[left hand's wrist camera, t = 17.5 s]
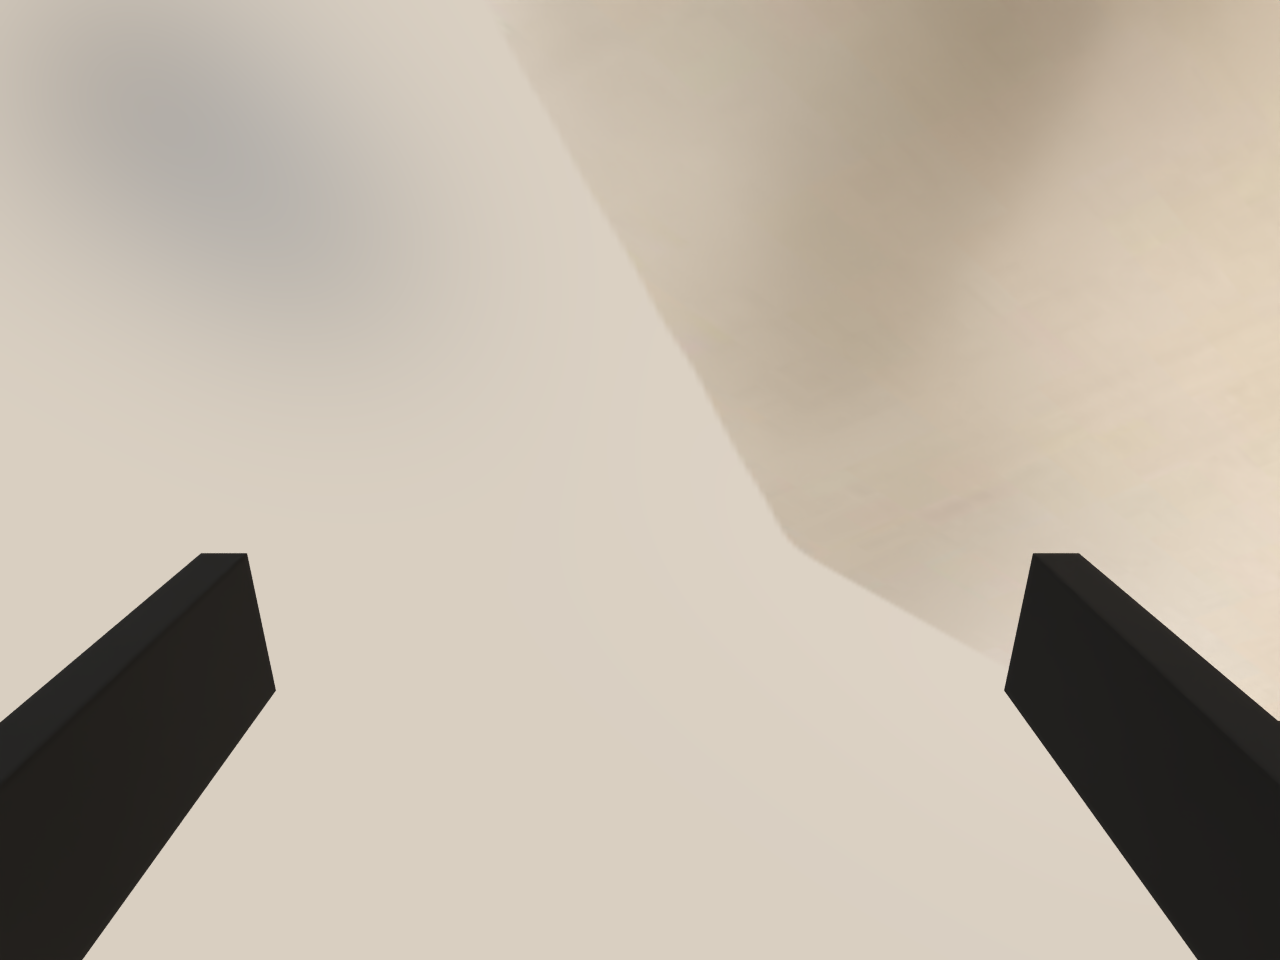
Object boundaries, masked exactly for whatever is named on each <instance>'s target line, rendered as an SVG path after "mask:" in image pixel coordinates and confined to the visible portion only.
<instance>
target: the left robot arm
mask: <svg viewBox="0 0 1280 960" xmlns="http://www.w3.org/2000/svg"><path fill="white" fill-rule="evenodd" d="M275 691H276V689H275V684H274V680H273V675H272V670H271V665H270V661H269V656H268V651H267V647H266V642H265V637H264V632H263V627H262V623H261V618H260V613H259V608H258V604H257V599H256V594H255V589H254V585H253V580H252V575H251V570H250V566H249V561H248V556H247V553H201V554H200V555H199V556H197V557H196V558H195V559H194V560H193V561H191V562H190V563H189V564H188V565H187V566H186V567H184V568H183V569H182V570H181V571H180V572H178V573H177V574H176V575H175V576H174V577H173V578H171V579H170V580H169V581H168V582H166V583H165V584H164V585H163V586H162V587H161V588H159V589H158V590H157V591H156V592H155V593H153V594H152V595H151V596H150V597H149V598H148V599H146V600H145V601H144V602H143V603H142V604H140V605H139V606H138V607H137V608H136V609H134V610H133V611H132V612H131V613H130V614H129V615H127V616H126V617H125V618H124V619H123V620H121V621H120V622H119V623H118V624H117V625H115V626H114V627H113V628H112V629H111V630H109V631H108V632H107V633H106V634H105V635H104V636H102V637H101V638H100V639H99V640H98V641H96V642H95V643H94V644H93V645H92V646H91V647H89V648H88V649H87V650H86V651H85V652H83V653H82V654H81V655H80V656H79V657H77V658H76V659H75V660H74V661H73V662H72V663H70V664H69V665H68V666H67V667H66V668H64V669H63V670H62V671H61V672H60V673H58V674H57V675H56V676H55V677H54V678H53V679H51V680H50V681H49V682H48V683H47V684H45V685H44V686H43V687H42V688H41V689H39V690H38V691H37V692H36V693H35V694H34V695H32V696H31V697H30V698H29V699H28V700H26V701H25V702H24V703H23V704H22V705H20V706H19V707H18V708H17V709H16V710H15V711H13V712H12V713H11V714H10V715H9V716H7V717H6V718H5V719H4V720H3V721H1V722H0V960H82V959H83V958H84V957H85V955H86V954H87V952H88V951H89V950H90V948H91V947H92V946H93V944H94V943H95V941H96V940H97V939H98V937H99V936H100V934H101V933H102V932H103V930H104V929H105V927H106V926H107V925H108V923H109V922H110V920H111V919H112V918H113V916H114V915H115V914H116V912H117V911H118V909H119V908H120V907H121V905H122V904H123V902H124V901H125V900H126V898H127V897H128V895H129V894H130V893H131V891H132V890H133V889H134V887H135V886H136V884H137V883H138V882H139V880H140V879H141V877H142V876H143V875H144V873H145V872H146V870H147V869H148V868H149V866H150V865H151V863H152V862H153V861H154V859H155V858H156V856H157V855H158V854H159V852H160V851H161V849H162V848H163V847H164V845H165V844H166V843H167V841H168V840H169V838H170V837H171V836H172V834H173V833H174V831H175V830H176V829H177V827H178V826H179V825H180V823H181V822H182V820H183V819H184V817H185V816H186V815H187V813H188V812H189V811H190V809H191V808H192V806H193V805H194V804H195V802H196V801H197V799H198V798H199V797H200V795H201V794H202V793H203V791H204V790H205V788H206V787H207V786H208V784H209V783H210V781H211V780H212V779H213V777H214V776H215V774H216V773H217V772H218V770H219V769H220V767H221V766H222V765H223V763H224V762H225V760H226V759H227V758H228V756H229V755H230V754H231V752H232V751H233V749H234V748H235V747H236V745H237V744H238V742H239V741H240V740H241V738H242V737H243V735H244V734H245V733H246V731H247V730H248V728H249V727H250V726H251V724H252V723H253V721H254V720H255V719H256V717H257V716H258V715H259V713H260V712H261V710H262V709H263V708H264V706H265V705H266V703H267V702H268V701H269V699H270V698H271V696H272V695H273V694H274V692H275ZM1004 691H1005V692H1006V694H1007V695H1008V696H1009V698H1010V699H1011V701H1012V702H1013V703H1014V705H1015V706H1016V708H1017V709H1018V710H1019V712H1020V713H1021V715H1022V716H1023V717H1024V719H1025V720H1026V722H1027V723H1028V724H1029V726H1030V727H1031V728H1032V730H1033V731H1034V733H1035V734H1036V735H1037V737H1038V738H1039V740H1040V741H1041V742H1042V744H1043V745H1044V747H1045V748H1046V749H1047V751H1048V752H1049V754H1050V755H1051V756H1052V758H1053V759H1054V760H1055V762H1056V763H1057V765H1058V766H1059V767H1060V769H1061V770H1062V772H1063V773H1064V774H1065V776H1066V777H1067V779H1068V780H1069V781H1070V783H1071V784H1072V786H1073V787H1074V788H1075V790H1076V791H1077V792H1078V794H1079V795H1080V797H1081V798H1082V799H1083V801H1084V802H1085V803H1086V805H1087V806H1088V808H1089V809H1090V811H1091V812H1092V813H1093V815H1094V816H1095V818H1096V819H1097V820H1098V822H1099V823H1100V825H1101V826H1102V827H1103V829H1104V830H1105V831H1106V833H1107V834H1108V836H1109V837H1110V838H1111V840H1112V841H1113V843H1114V844H1115V845H1116V847H1117V848H1118V849H1119V851H1120V852H1121V854H1122V855H1123V856H1124V858H1125V859H1126V861H1127V862H1128V863H1129V865H1130V866H1131V868H1132V869H1133V870H1134V872H1135V873H1136V875H1137V876H1138V877H1139V879H1140V880H1141V882H1142V883H1143V884H1144V886H1145V887H1146V889H1147V890H1148V891H1149V893H1150V894H1151V895H1152V897H1153V898H1154V900H1155V901H1156V902H1157V904H1158V905H1159V907H1160V908H1161V909H1162V911H1163V912H1164V914H1165V915H1166V916H1167V918H1168V919H1169V920H1170V922H1171V923H1172V925H1173V926H1174V927H1175V929H1176V930H1177V932H1178V933H1179V934H1180V936H1181V937H1182V939H1183V940H1184V941H1185V943H1186V944H1187V946H1188V947H1189V948H1190V950H1191V951H1192V953H1193V954H1194V955H1195V957H1196V958H1197V959H1198V960H1280V721H1277V720H1276V719H1275V718H1274V717H1273V716H1271V715H1270V714H1269V713H1268V712H1267V711H1265V710H1264V709H1263V708H1262V707H1261V706H1260V705H1258V704H1257V703H1256V702H1255V701H1254V700H1252V699H1251V698H1250V697H1249V696H1248V695H1246V694H1245V693H1244V692H1243V691H1242V690H1241V689H1239V688H1238V687H1237V686H1236V685H1235V684H1233V683H1232V682H1231V681H1230V680H1229V679H1227V678H1226V677H1225V676H1224V675H1223V674H1222V673H1220V672H1219V671H1218V670H1217V669H1216V668H1214V667H1213V666H1212V665H1211V664H1210V663H1208V662H1207V661H1206V660H1205V659H1204V658H1203V657H1201V656H1200V655H1199V654H1198V653H1197V652H1195V651H1194V650H1193V649H1192V648H1191V647H1189V646H1188V645H1187V644H1186V643H1185V642H1184V641H1182V640H1181V639H1180V638H1179V637H1178V636H1176V635H1175V634H1174V633H1173V632H1172V631H1170V630H1169V629H1168V628H1167V627H1166V626H1165V625H1163V624H1162V623H1161V622H1160V621H1159V620H1157V619H1156V618H1155V617H1154V616H1153V615H1152V614H1150V613H1149V612H1148V611H1147V610H1146V609H1144V608H1143V607H1142V606H1141V605H1140V604H1138V603H1137V602H1136V601H1135V600H1134V599H1133V598H1131V597H1130V596H1129V595H1128V594H1127V593H1125V592H1124V591H1123V590H1122V589H1121V588H1119V587H1118V586H1117V585H1116V584H1115V583H1114V582H1112V581H1111V580H1110V579H1109V578H1108V577H1106V576H1105V575H1104V574H1103V573H1102V572H1100V571H1099V570H1098V569H1097V568H1096V567H1095V566H1093V565H1092V564H1091V563H1090V562H1089V561H1087V560H1086V559H1085V558H1084V557H1083V556H1081V555H1080V554H1079V553H1033V556H1032V561H1031V566H1030V570H1029V575H1028V580H1027V585H1026V589H1025V594H1024V599H1023V604H1022V608H1021V613H1020V618H1019V623H1018V627H1017V632H1016V637H1015V642H1014V646H1013V651H1012V656H1011V661H1010V665H1009V670H1008V675H1007V680H1006V684H1005V689H1004Z"/></svg>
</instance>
